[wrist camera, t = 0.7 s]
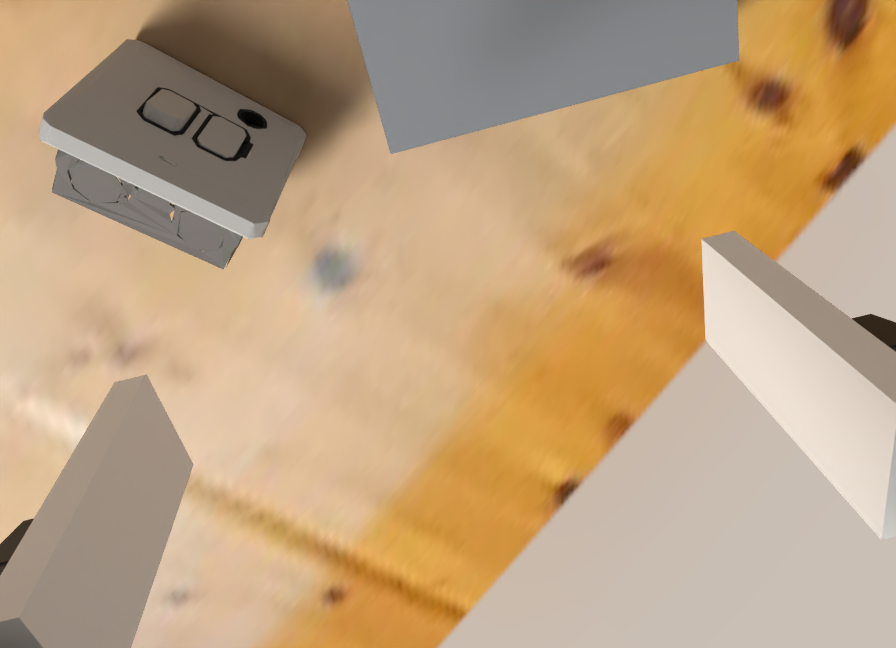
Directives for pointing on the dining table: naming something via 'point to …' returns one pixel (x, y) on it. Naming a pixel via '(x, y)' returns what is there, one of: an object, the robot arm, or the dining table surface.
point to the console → (525, 56)
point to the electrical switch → (170, 152)
